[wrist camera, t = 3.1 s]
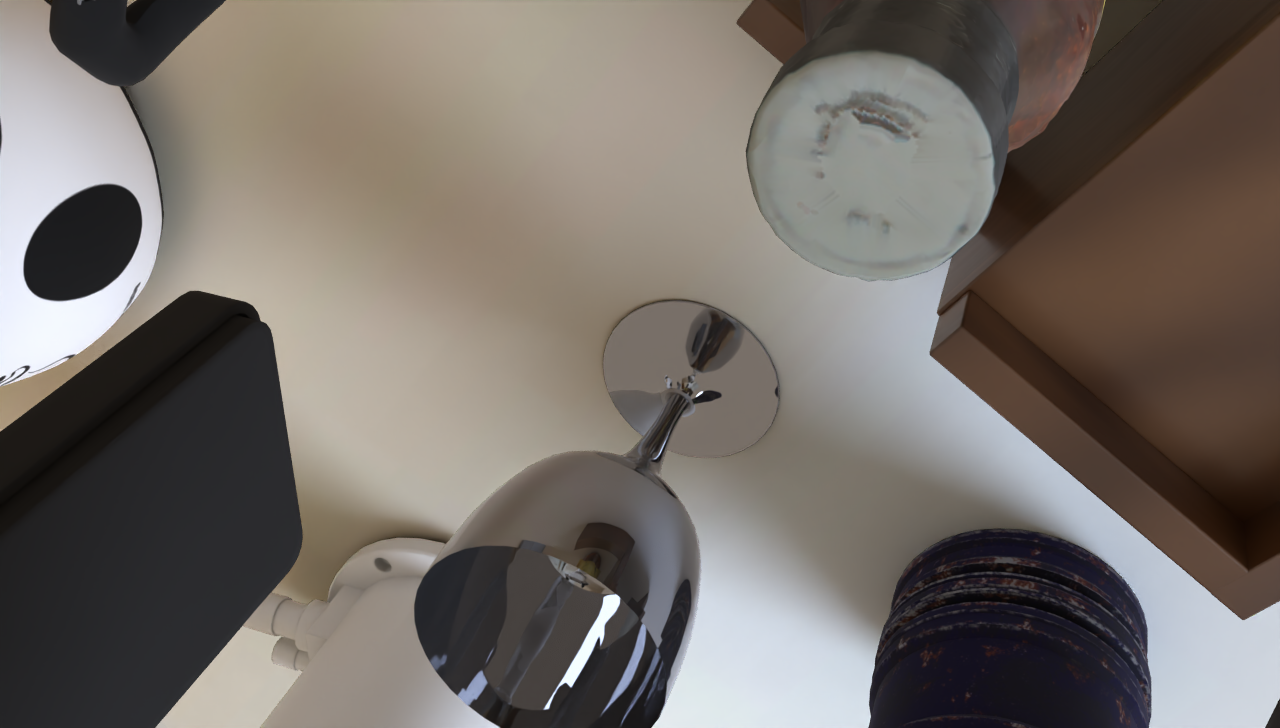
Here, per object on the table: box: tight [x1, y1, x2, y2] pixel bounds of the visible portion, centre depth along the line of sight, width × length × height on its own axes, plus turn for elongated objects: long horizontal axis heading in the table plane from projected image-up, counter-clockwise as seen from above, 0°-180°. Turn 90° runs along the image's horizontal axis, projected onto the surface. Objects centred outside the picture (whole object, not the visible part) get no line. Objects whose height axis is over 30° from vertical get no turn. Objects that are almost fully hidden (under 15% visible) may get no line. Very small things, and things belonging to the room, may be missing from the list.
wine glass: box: [414, 300, 780, 728], centre depth 41 cm, size 8×8×15 cm
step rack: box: [737, 0, 1280, 620], centre depth 31 cm, size 20×14×11 cm
